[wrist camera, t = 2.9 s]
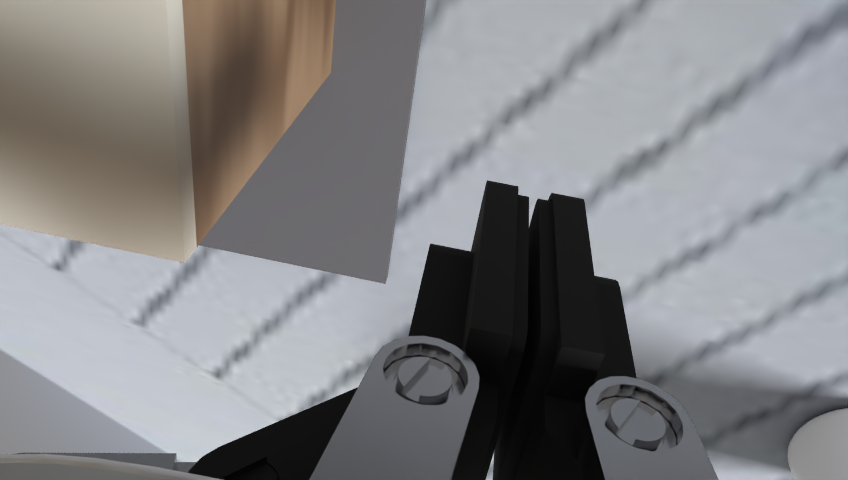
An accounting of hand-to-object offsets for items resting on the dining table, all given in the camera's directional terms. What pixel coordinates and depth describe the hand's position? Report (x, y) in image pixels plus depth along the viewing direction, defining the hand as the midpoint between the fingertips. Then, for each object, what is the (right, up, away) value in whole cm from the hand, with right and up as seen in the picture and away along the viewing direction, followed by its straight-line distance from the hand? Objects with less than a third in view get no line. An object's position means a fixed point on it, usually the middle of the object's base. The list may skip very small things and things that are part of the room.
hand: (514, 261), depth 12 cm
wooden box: (-7, +9, +11) cm, 16 cm away
